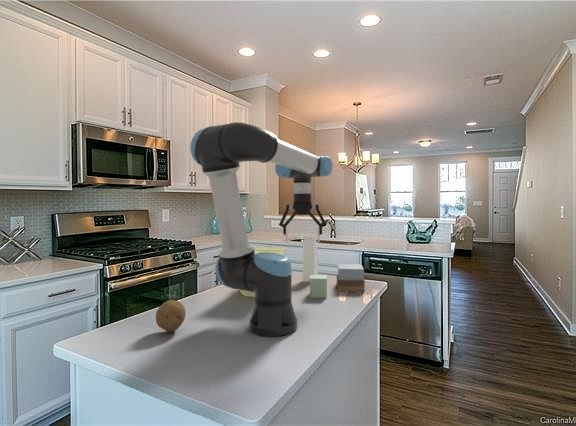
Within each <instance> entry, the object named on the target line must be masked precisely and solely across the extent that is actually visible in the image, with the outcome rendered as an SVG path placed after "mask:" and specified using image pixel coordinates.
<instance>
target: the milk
mask: <svg viewBox="0 0 576 426" xmlns="http://www.w3.org/2000/svg"><path fill="white" fill-rule="evenodd" d="M310 275H319V273H318V240H317V237H316V236H304V238H303V242H302V282H304V283H305V282H307V283H308V282H309V283H310Z"/></svg>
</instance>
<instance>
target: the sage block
mask: <svg viewBox="0 0 576 426" xmlns="http://www.w3.org/2000/svg"><path fill="white" fill-rule="evenodd" d="M309 298H313V299H315V298H316V299H317V298H320V299H327V298H328V275H327V274H318V275H310V282H309Z"/></svg>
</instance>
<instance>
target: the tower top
mask: <svg viewBox="0 0 576 426" xmlns="http://www.w3.org/2000/svg"><path fill="white" fill-rule="evenodd" d="M337 274H338V278H339V280H364V281H365V269H364V267H363V265H362V264H359V263H353V264H350V263H342V264H341V263H338V264H337Z"/></svg>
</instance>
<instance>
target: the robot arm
mask: <svg viewBox="0 0 576 426" xmlns="http://www.w3.org/2000/svg"><path fill="white" fill-rule="evenodd" d="M190 153H191V157H192V159H193V160H194V162H196V163H197V165H199V166H201V169H202V174H204V175H205V176H207V177H208V179H209V184H210V190H211V194H212V200H213V204H214V209H215V214H216V221H217V225H218V230H219V237H220V241H221V245H222V249H221V250H220V252H219V254H218V255H219V257H218V258H217V260H216V263H217V264H215V267H214V268H215V271H214V272H215V275H216V276H215V277H216V278H217V280H218V281H219V283H220V284H221V285H223V286H225V287H227V288H229V289H233V290H239V289H240V290H245V291H251V292H255V297H254V306H253V309H252V312H251V316H250V319H249V331H250V332H251V333H253V334H255V335H257V336H261V337H262V336H263V337H281V336H287V335H290V334H292V333H294V332H295V331H297V328H298V319H297V315H296V314H295V311H294V307H293V304H292V303H293V302H292V273H293V270H292V263H291V260H290V257H288V256H287V255H286V254H284V255H282V254H279V253H273V252H272V253H270V252H260V253H257V254H255V252H254V250H255V247H254V245H252V244H250V243H249V240H248V235H247V227H246V223H245V222H246V221H245V215H244V210H243V205H242V199H241V194H240V189H239V183H238V178H237V177H238V176H237V173H238V170H239V169H240V163H242V162H243V163H244V162H259V163H263V164H264V163H265V164H266V163H269V162H270V163H272V164H275V165H274V169H275V173H276V175H277V176H278V178H279V177H280V178H283V179H293V193H294V194H293V205H292V204H286V208H285V211H284V213H283V215H282V216H281V219H280V221H279V223H278V226H279V227H282V228H283V231H282V232H283V235H285V243H286V244H288V243H289V227H288V225H289V224H290V223H291V221H292V220H293V219H294V218H295V217H296V216H297V215H298V216H301V215H303V216H307V215H309V217H310V218H312V220H313V221H314V222H315V223H316V224H317V244H319V243H320V236H321V235H323V227H326V226H327V223H326V221H325V219H324V216H323V215H322V213H321V211H320V209H319V208H320V207H319V204H312V194H311V193H312V178H317V177H320V178H322V177H329V176H330V175H331V174H332V172H333V161H332V158H331V157H330V156H327V155H326V156H324V155H321V156H317V155H314V154H312V153H310V152H308V151H305V150H303V149H301V148H298V147H296V146H294V145H292V144H289V143H287V142H286V141H283V140H280V139H279V138H278V137H277V135H276V134H274V133H273V132H271V131H269V130H267V129H263V128H261V127H259V126H256V125H253V124H249V123H246V122H245V123H244V122H238V121H237V122H230V123H226V124H220V125H213V126H211V125H210V126H207V127H205V128H202V129H199V130H197V132H195V133H194V136H193V137H192V139H191V142H190ZM292 209H293V210H294V211H293V213H292V215H291V216H290V217H289V218H287V215H288V214H289V213H290V212H289V211H290V210H292ZM312 209H314V210H316V213H317V215H318V217H319V220H320V221H321V222H320V221H319V220H318V218H317V217H316V216H315V215H314V213H312V211H311V210H312ZM286 218H287V220H286V221H285V219H286ZM284 222H285V223H284ZM240 290H239V291H240Z"/></svg>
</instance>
